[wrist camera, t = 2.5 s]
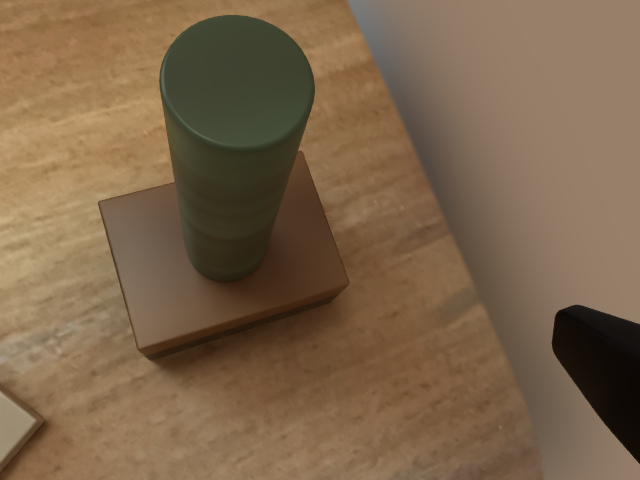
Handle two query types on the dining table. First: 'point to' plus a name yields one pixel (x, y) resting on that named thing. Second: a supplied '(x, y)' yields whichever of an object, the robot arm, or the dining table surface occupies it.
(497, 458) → the dining table surface
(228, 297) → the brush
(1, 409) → the tile
